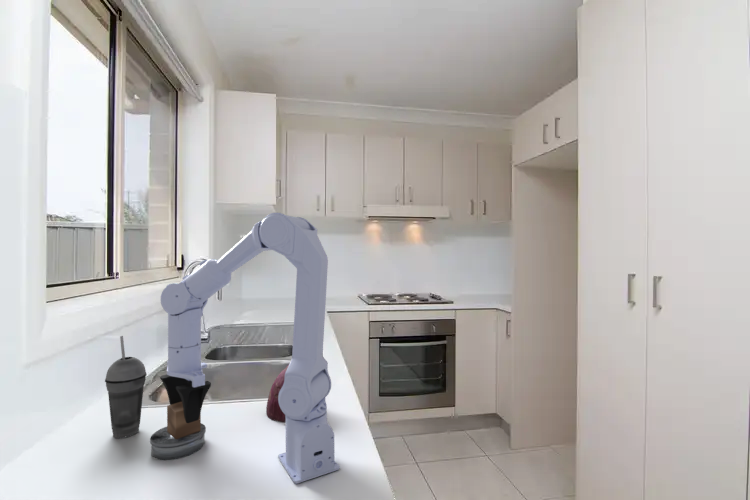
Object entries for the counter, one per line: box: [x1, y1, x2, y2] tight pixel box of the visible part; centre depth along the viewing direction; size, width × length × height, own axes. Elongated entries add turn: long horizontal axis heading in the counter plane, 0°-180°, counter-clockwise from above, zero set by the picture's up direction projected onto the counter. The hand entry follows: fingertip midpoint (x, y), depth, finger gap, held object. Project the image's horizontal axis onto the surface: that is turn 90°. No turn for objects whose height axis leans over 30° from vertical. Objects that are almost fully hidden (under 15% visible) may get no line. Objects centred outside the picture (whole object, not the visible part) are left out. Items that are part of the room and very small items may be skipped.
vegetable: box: [265, 364, 289, 423], centre depth 88 cm, size 10×10×15 cm
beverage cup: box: [104, 335, 147, 439], centre depth 77 cm, size 7×7×20 cm
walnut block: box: [166, 402, 202, 439], centre depth 72 cm, size 4×4×5 cm
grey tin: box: [149, 422, 207, 461], centre depth 71 cm, size 9×9×3 cm
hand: (184, 415), depth 72 cm, fingers open, 7 cm apart
